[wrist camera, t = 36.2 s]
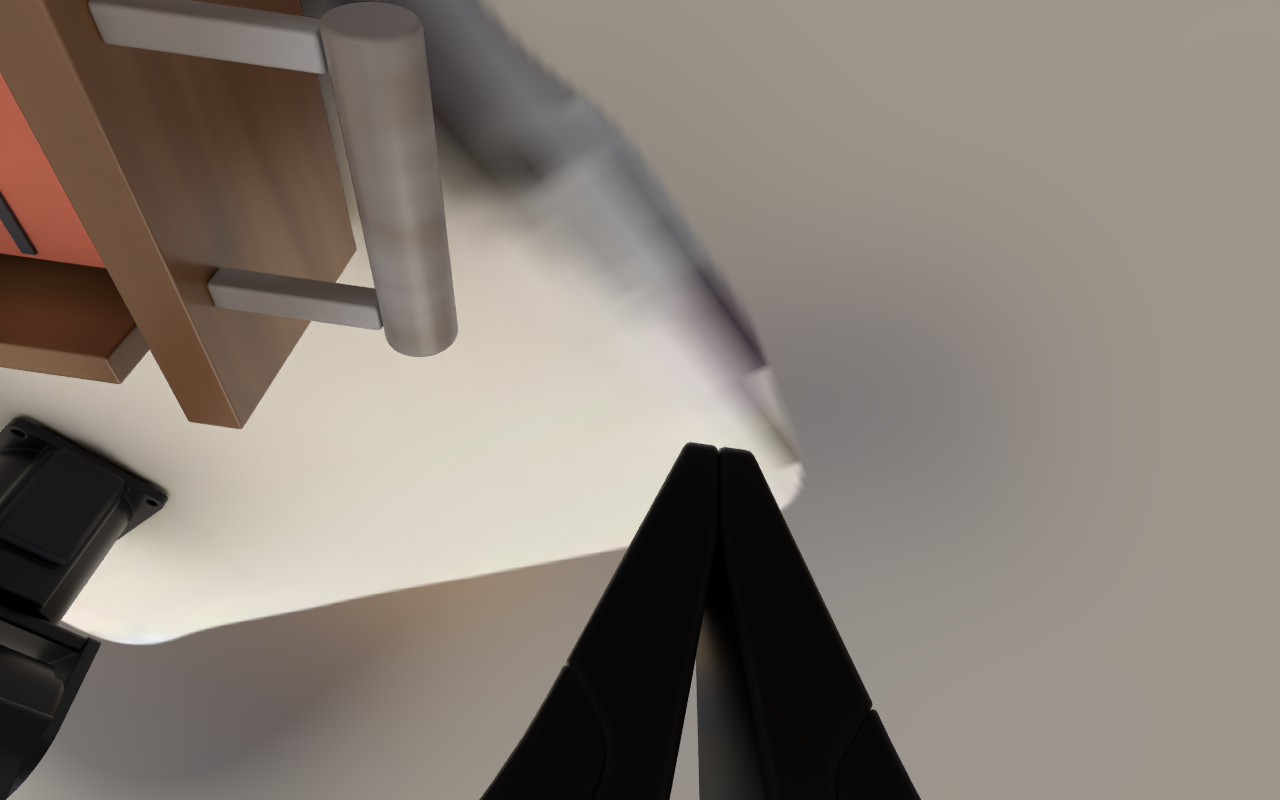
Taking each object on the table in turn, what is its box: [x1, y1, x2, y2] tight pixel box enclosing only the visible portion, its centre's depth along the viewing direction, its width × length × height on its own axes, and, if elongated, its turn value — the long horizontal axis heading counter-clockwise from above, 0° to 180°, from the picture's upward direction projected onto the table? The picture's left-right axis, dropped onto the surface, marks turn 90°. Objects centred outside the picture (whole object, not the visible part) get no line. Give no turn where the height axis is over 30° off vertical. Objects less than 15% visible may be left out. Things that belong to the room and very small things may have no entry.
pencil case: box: [0, 73, 106, 268], centre depth 14 cm, size 7×4×4 cm, turn 175°
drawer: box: [0, 0, 458, 429], centre depth 14 cm, size 18×11×7 cm, turn 85°
